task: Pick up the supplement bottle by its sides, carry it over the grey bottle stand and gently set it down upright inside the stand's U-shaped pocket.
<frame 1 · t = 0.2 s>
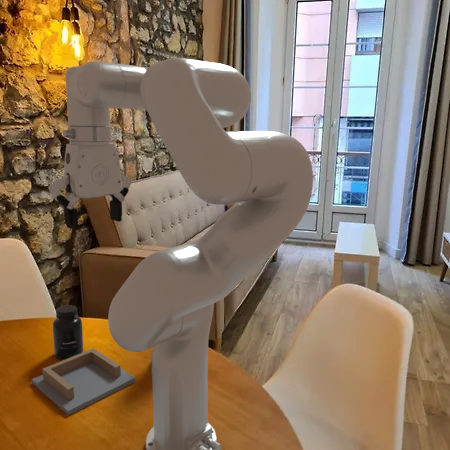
hand: (95, 224, 87), 36 cm above the table, tool pointing down, fingers open, 9 cm apart
bottle stand: (84, 382, 97), on the table
supplement bottle: (69, 354, 109), on the table
plastic bottle: (168, 360, 106), on the table
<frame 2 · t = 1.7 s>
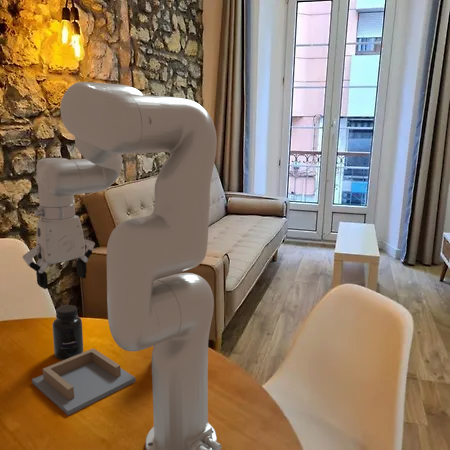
hand: (63, 282, 105), 19 cm above the table, tool pointing down, fingers open, 9 cm apart
nothing on the table moved.
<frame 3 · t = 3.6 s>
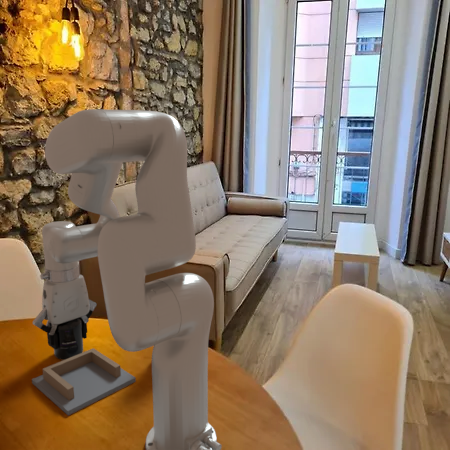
hand: (68, 341, 108), 3 cm above the table, tool pointing down, fingers closed on supplement bottle, 6 cm apart
supplement bottle: (69, 354, 109), on the table, touching gripper
everything else where it was.
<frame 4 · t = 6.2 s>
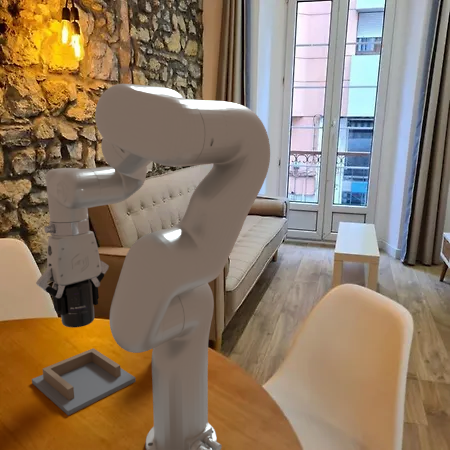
hand: (77, 307, 95), 17 cm above the table, tool pointing down, fingers closed on supplement bottle, 6 cm apart
supplement bottle: (78, 322, 95), point 13 cm above the table, touching gripper
everything else where it was.
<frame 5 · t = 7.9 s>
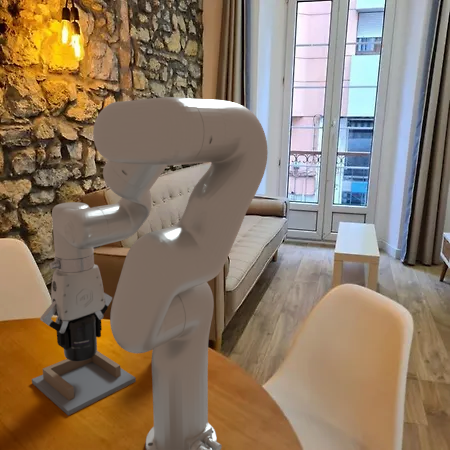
hand: (80, 340, 94), 10 cm above the table, tool pointing down, fingers closed on supplement bottle, 6 cm apart
supplement bottle: (81, 354, 95), point 7 cm above the table, touching gripper
everything else where it was.
when the fingers open (5 cm above the table, at t = 9.4 s): supplement bottle stays where it is, resting on bottle stand.
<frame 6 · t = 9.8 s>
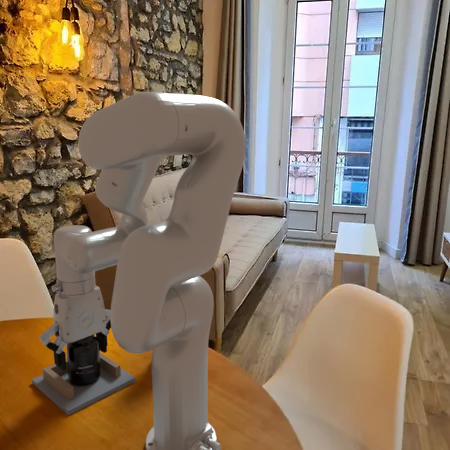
hand: (82, 358, 95), 6 cm above the table, tool pointing down, fingers open, 9 cm apart
supplement bottle: (85, 379, 96), point 1 cm above the table, touching bottle stand
everything else where it was.
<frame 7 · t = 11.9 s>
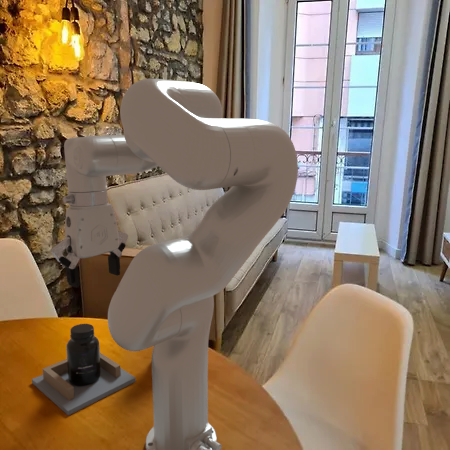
hand: (95, 279, 92), 24 cm above the table, tool pointing down, fingers open, 9 cm apart
nothing on the table moved.
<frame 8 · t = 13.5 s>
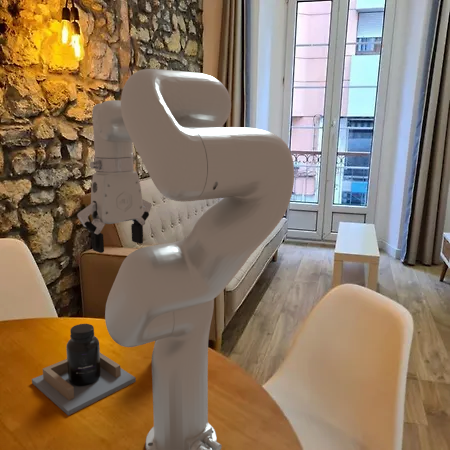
hand: (118, 246, 93), 30 cm above the table, tool pointing down, fingers open, 9 cm apart
nothing on the table moved.
at the end: supplement bottle 0.3 cm off-centre on the bottle stand, point 0.8 cm above the bottle stand's base; supplement bottle tilted 0°; the gripper is holding nothing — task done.
